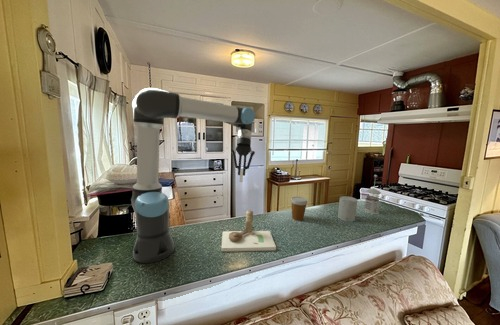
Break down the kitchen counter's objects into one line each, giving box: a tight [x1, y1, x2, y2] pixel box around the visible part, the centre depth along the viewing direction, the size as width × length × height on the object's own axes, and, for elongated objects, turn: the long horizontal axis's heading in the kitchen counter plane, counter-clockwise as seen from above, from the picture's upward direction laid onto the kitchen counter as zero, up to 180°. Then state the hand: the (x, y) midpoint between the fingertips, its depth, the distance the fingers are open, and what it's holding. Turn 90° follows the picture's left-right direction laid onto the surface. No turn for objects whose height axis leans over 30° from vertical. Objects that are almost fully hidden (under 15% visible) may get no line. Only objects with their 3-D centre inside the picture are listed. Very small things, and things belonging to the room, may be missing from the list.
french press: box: [362, 174, 382, 215], centre depth 130 cm, size 10×12×25 cm
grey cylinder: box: [337, 195, 358, 223], centre depth 120 cm, size 10×10×12 cm
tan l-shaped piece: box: [229, 210, 255, 241], centre depth 93 cm, size 15×6×10 cm, turn 135°
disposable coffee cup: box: [290, 196, 308, 222], centre depth 117 cm, size 10×10×12 cm
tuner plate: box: [220, 230, 277, 252], centre depth 91 cm, size 23×14×2 cm, turn 95°
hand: (240, 181), depth 105 cm, fingers closed
